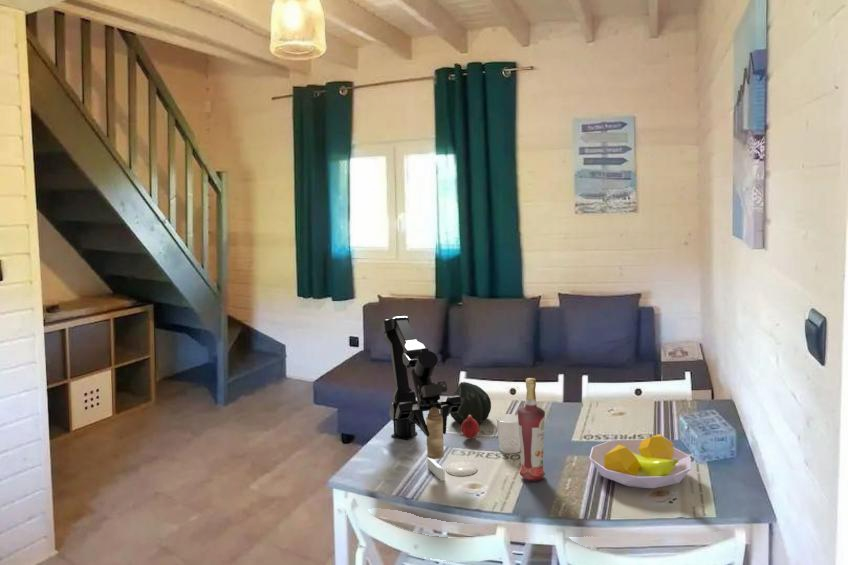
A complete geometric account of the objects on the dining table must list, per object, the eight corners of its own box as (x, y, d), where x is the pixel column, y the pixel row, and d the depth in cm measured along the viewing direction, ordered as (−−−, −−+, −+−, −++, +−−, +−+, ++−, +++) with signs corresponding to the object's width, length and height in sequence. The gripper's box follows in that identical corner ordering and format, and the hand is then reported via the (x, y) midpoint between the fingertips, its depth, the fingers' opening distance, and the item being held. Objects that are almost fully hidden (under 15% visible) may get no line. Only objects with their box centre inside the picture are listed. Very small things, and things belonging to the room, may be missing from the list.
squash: (505, 404, 227) (478, 370, 231) (485, 418, 215) (457, 382, 219) (479, 425, 235) (453, 391, 238) (459, 440, 222) (432, 404, 226)
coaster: (440, 472, 186) (440, 470, 186) (455, 461, 193) (455, 459, 193) (468, 478, 181) (468, 477, 181) (482, 466, 188) (482, 465, 188)
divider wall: (427, 467, 189) (427, 457, 189) (431, 467, 190) (430, 457, 189) (441, 480, 180) (441, 470, 180) (444, 480, 180) (444, 469, 180)
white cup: (525, 446, 203) (524, 415, 202) (520, 455, 196) (520, 423, 194) (500, 443, 206) (499, 413, 204) (494, 453, 198) (494, 421, 197)
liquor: (539, 485, 175) (538, 384, 171) (514, 480, 179) (512, 381, 175) (549, 475, 181) (548, 377, 177) (525, 470, 185) (523, 374, 181)
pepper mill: (424, 457, 182) (423, 409, 180) (431, 451, 186) (429, 404, 184) (440, 460, 180) (438, 410, 178) (446, 453, 184) (444, 405, 182)
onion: (478, 442, 207) (477, 418, 206) (460, 442, 208) (459, 418, 207) (480, 436, 213) (479, 412, 212) (462, 435, 214) (462, 412, 213)
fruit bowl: (579, 459, 191) (579, 422, 190) (673, 457, 190) (673, 420, 189) (602, 504, 163) (602, 460, 162) (712, 502, 162) (713, 458, 161)
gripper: (396, 375, 181) (408, 426, 172) (459, 367, 186) (475, 417, 177) (391, 394, 189) (402, 444, 180) (451, 387, 195) (465, 435, 186)
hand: (436, 434), depth 181 cm, fingers closed on pepper mill, 5 cm apart
